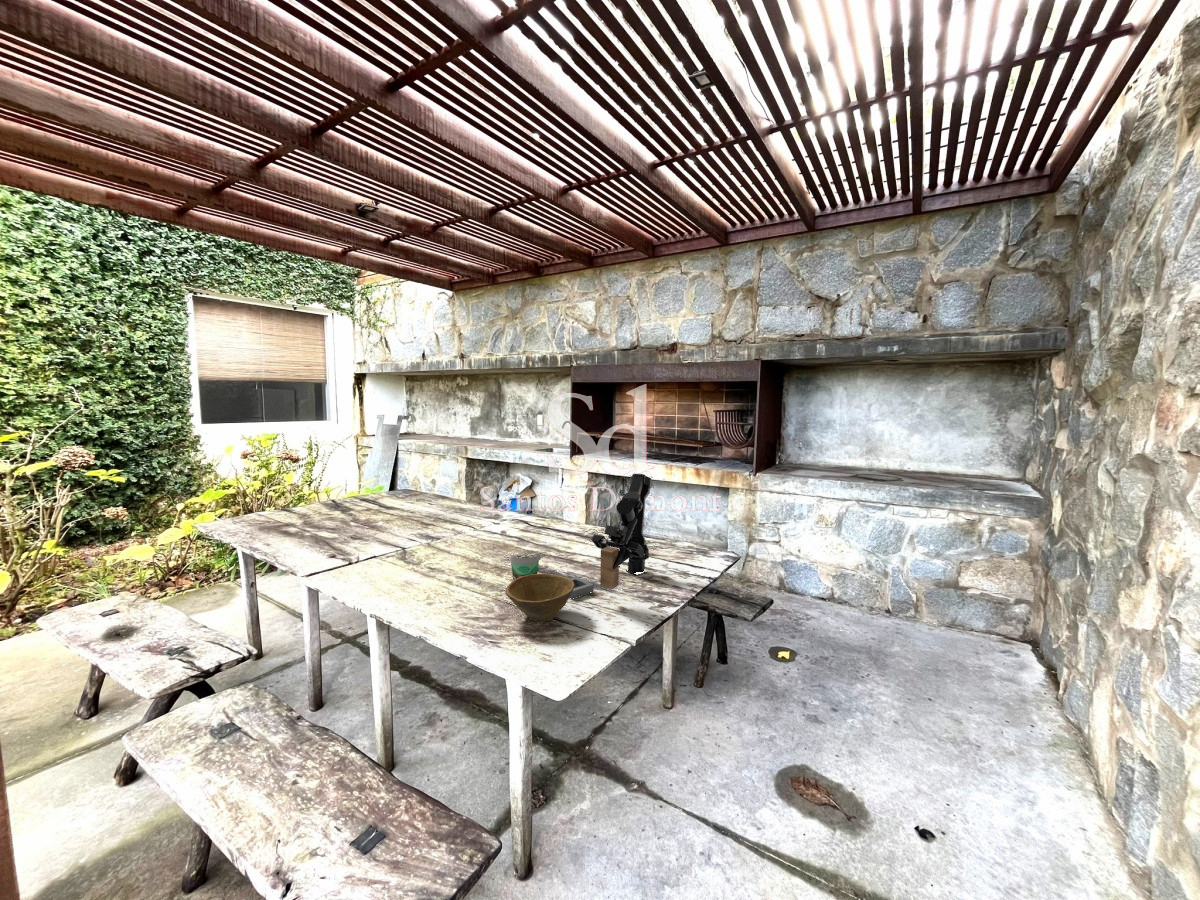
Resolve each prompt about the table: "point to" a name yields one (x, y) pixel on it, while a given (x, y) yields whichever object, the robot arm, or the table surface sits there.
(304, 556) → the table surface
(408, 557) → the table surface
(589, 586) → the socket
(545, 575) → the bowl
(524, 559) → the food container
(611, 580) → the tall wooden post
